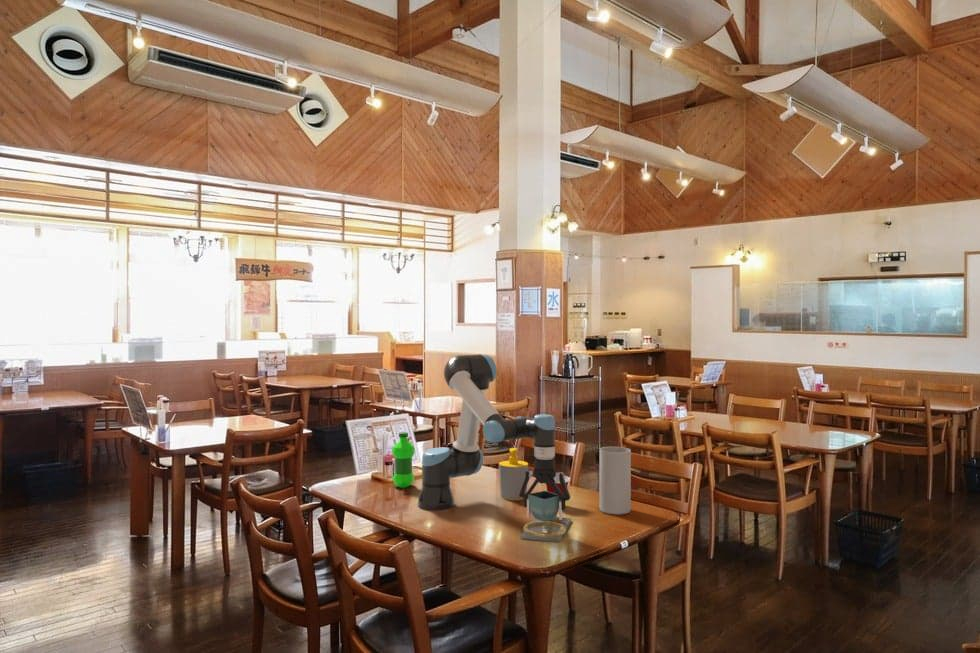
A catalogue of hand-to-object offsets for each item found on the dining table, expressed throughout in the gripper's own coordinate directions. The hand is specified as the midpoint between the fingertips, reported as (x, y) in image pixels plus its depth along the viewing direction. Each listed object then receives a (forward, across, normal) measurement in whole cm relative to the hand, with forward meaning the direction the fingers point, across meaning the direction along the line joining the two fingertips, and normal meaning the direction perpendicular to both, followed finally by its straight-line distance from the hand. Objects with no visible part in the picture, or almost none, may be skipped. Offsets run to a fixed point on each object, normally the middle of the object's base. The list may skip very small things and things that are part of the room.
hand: (544, 517), depth 234 cm
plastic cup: (+6, -2, +36) cm, 37 cm away
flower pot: (+1, 0, 0) cm, 1 cm away
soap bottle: (+6, -23, +45) cm, 51 cm away
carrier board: (+6, 0, +5) cm, 7 cm away
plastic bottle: (+6, -77, +48) cm, 91 cm away
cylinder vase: (+6, +22, +36) cm, 43 cm away
